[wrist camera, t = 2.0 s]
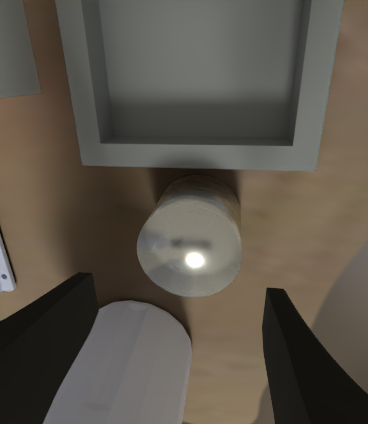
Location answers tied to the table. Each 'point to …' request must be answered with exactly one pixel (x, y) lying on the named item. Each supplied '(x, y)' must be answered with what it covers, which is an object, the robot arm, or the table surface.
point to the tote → (200, 81)
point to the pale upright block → (16, 52)
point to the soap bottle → (127, 370)
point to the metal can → (192, 237)
